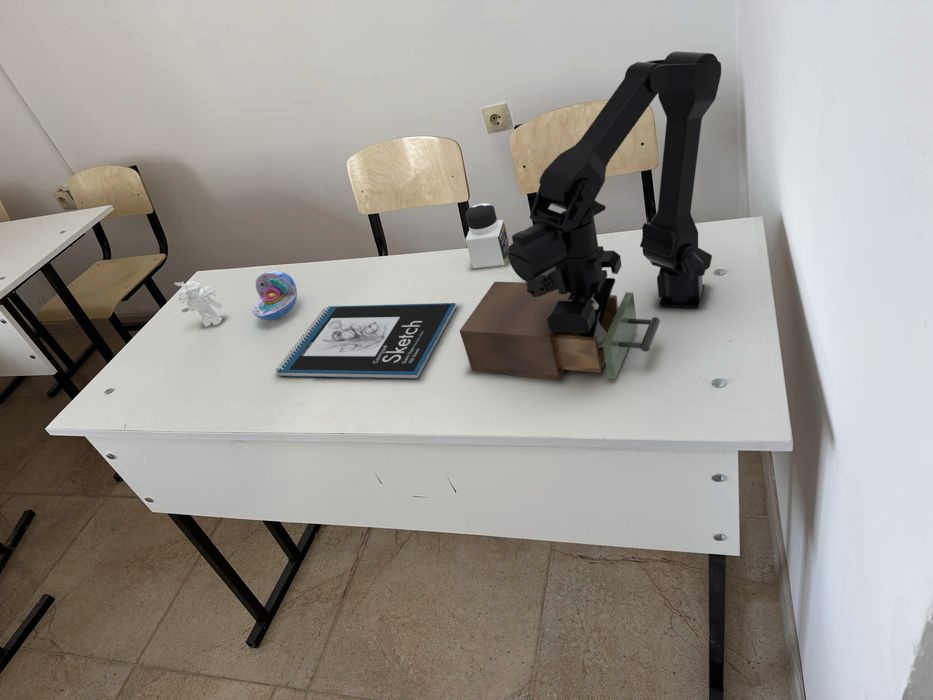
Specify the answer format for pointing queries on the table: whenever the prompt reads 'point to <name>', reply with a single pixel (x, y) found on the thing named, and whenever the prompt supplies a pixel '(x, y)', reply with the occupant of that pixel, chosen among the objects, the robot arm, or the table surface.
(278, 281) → the cell model
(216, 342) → the table surface
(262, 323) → the table surface
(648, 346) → the drawer
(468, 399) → the table surface
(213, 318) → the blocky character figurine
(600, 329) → the rook chess piece
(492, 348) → the cabinet
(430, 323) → the sketchbook
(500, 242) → the medicine bottle
